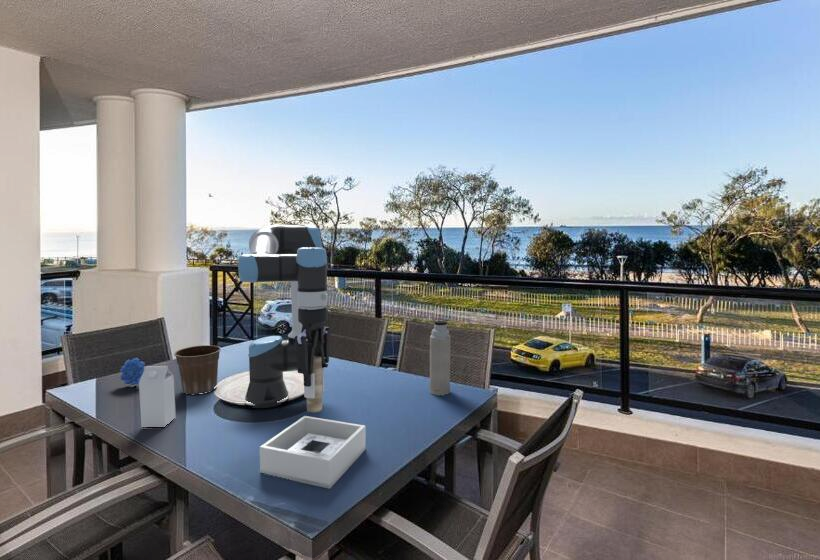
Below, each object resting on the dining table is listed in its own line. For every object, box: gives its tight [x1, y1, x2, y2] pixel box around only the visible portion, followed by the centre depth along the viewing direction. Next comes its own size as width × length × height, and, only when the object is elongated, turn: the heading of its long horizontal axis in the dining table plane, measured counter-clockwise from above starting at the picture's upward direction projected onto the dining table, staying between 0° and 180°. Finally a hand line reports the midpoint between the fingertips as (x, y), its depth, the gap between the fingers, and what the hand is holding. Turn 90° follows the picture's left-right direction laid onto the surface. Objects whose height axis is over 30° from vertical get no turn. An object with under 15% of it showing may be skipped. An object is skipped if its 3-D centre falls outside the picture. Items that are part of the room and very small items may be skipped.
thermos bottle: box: [429, 320, 452, 396], centre depth 162 cm, size 8×8×28 cm
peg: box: [306, 356, 323, 413], centre depth 110 cm, size 4×4×14 cm
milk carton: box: [138, 365, 176, 428], centre depth 133 cm, size 7×7×19 cm
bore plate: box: [288, 433, 346, 458], centre depth 112 cm, size 12×12×3 cm
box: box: [259, 415, 367, 490], centre depth 111 cm, size 20×20×7 cm
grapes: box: [120, 357, 146, 386], centre depth 168 cm, size 12×7×12 cm, turn 82°
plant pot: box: [174, 344, 222, 395], centre depth 164 cm, size 16×16×16 cm
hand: (314, 394), depth 110 cm, fingers closed on peg, 4 cm apart
